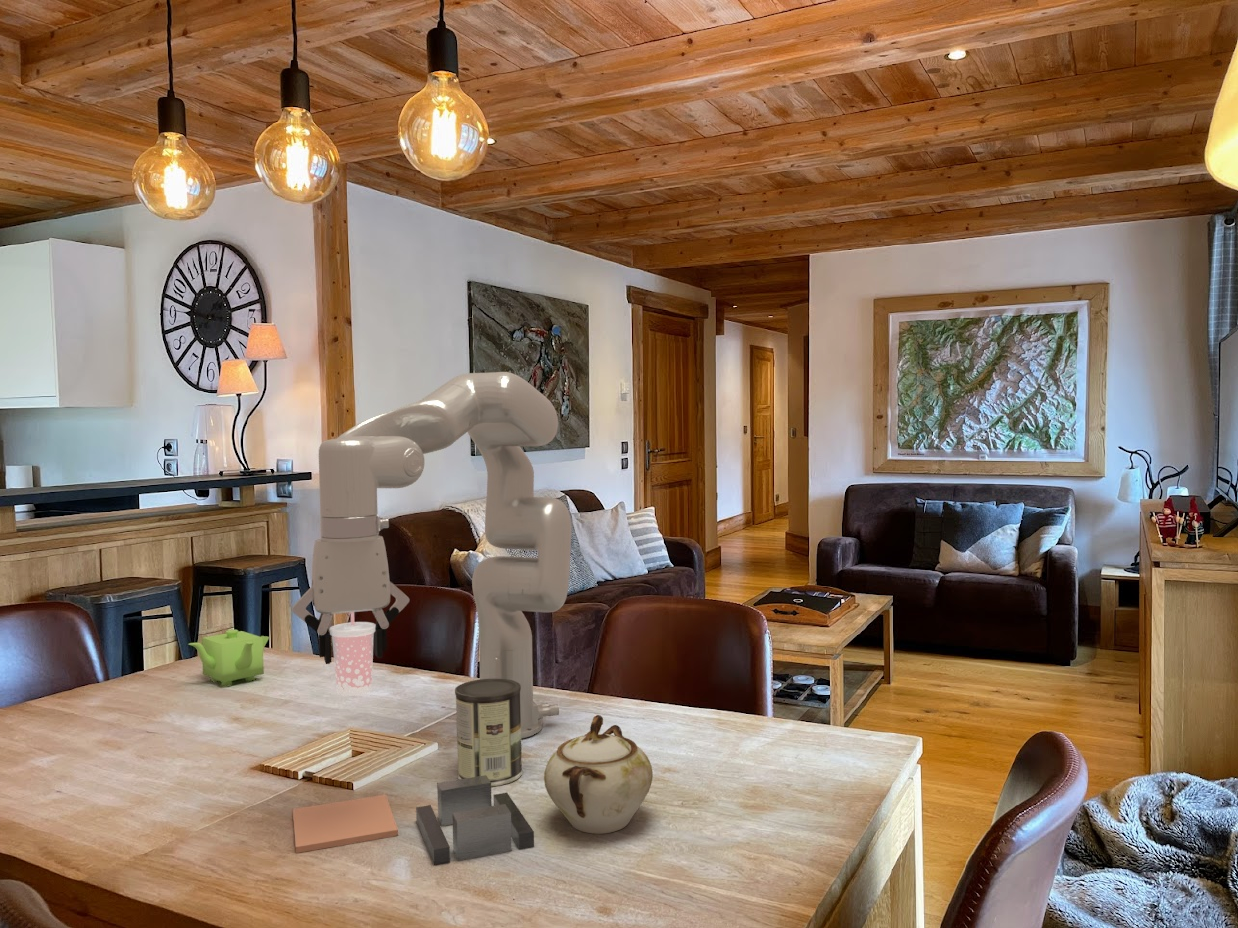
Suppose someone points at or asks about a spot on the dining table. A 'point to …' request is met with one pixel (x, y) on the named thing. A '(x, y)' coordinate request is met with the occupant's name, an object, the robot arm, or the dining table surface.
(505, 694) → the coffee can
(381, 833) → the terracotta tile
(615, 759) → the sugar bowl
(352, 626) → the beverage cup
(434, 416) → the robot arm
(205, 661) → the kettle
